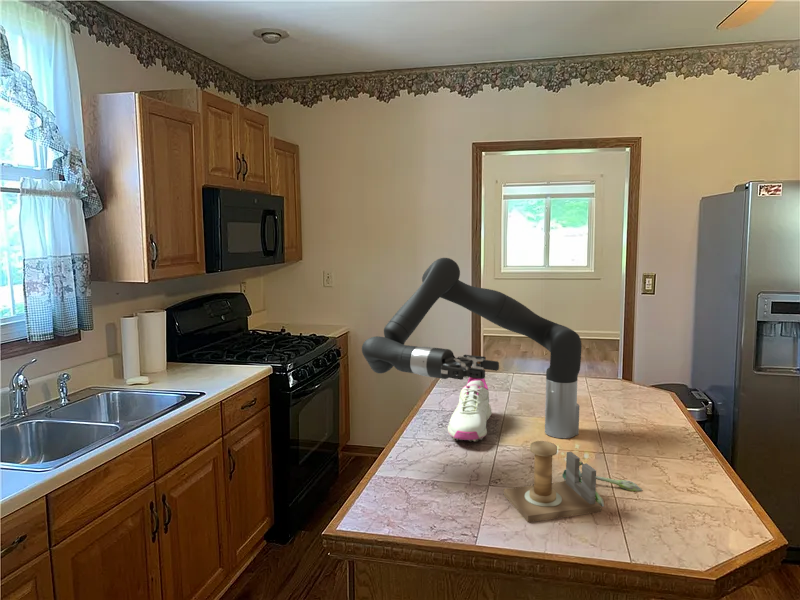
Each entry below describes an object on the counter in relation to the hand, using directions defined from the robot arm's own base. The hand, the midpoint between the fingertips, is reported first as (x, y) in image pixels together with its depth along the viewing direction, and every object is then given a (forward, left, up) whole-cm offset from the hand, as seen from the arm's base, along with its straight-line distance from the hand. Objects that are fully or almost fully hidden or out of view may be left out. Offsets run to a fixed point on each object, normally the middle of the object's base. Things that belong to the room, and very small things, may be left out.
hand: (491, 370), depth 138 cm
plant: (-27, +8, -31) cm, 42 cm away
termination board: (-11, +11, -30) cm, 34 cm away
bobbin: (-9, +11, -28) cm, 31 cm away
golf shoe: (-10, -39, -30) cm, 50 cm away
